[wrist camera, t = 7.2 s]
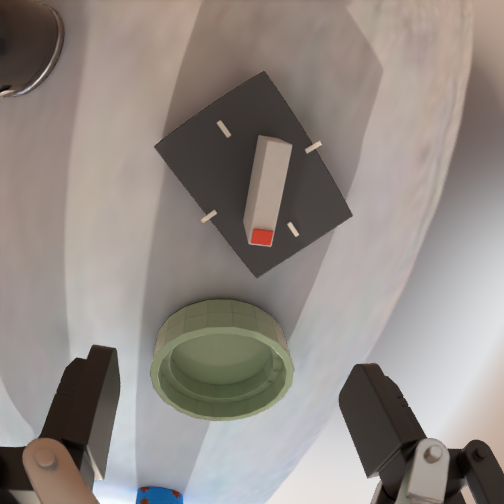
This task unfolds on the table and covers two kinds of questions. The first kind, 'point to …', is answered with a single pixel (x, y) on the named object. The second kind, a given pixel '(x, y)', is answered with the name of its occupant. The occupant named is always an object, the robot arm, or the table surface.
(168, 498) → the thermos
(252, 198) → the red tipped lever
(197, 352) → the basin
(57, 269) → the table surface
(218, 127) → the rotary switch dial
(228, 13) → the table surface
